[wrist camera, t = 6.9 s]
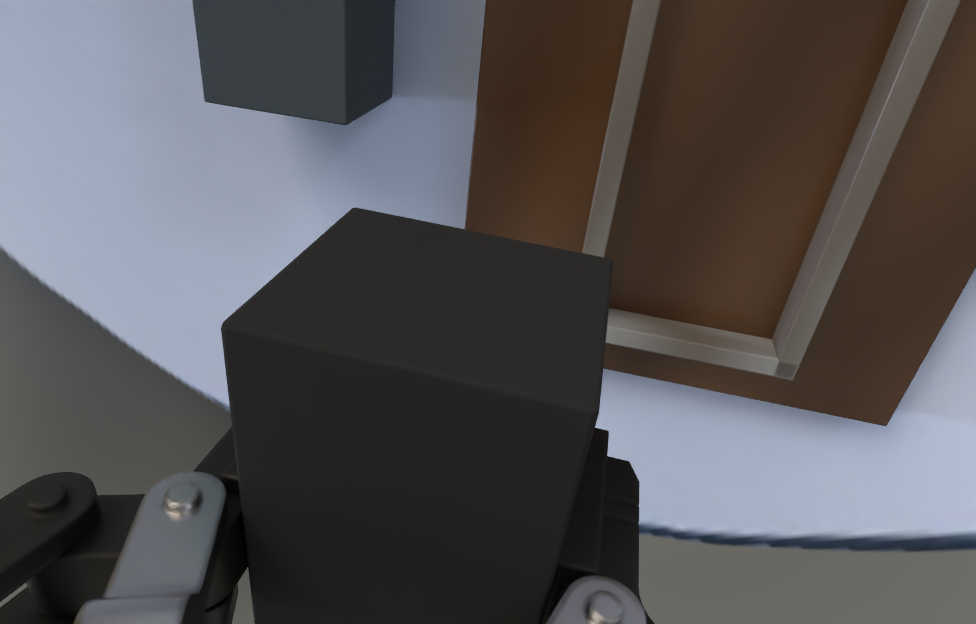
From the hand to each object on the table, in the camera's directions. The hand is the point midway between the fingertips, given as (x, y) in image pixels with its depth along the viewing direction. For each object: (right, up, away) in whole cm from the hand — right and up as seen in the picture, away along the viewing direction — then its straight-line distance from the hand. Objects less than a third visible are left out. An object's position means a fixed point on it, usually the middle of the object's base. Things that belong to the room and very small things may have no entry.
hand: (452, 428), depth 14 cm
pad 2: (0, 0, 0) cm, 0 cm away
